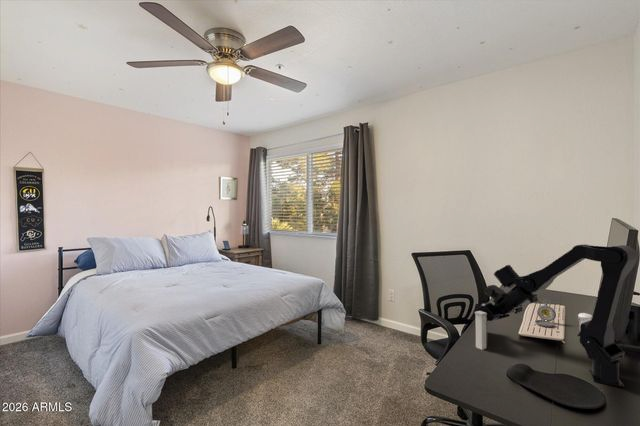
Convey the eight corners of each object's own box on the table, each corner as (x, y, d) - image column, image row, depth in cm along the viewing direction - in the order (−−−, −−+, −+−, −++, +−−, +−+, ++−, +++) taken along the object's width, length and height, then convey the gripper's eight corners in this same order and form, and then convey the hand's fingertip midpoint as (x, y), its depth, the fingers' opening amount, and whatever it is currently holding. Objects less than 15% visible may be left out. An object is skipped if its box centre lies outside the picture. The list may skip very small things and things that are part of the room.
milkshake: (599, 340, 116) (599, 313, 116) (582, 339, 118) (582, 312, 117) (591, 335, 121) (591, 309, 121) (575, 334, 122) (575, 309, 122)
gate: (487, 345, 111) (487, 319, 111) (482, 345, 112) (482, 319, 112) (485, 330, 125) (485, 307, 125) (481, 330, 126) (481, 307, 126)
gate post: (482, 350, 109) (481, 314, 109) (474, 347, 112) (474, 311, 112) (487, 348, 110) (486, 312, 110) (479, 345, 113) (479, 310, 113)
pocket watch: (539, 327, 130) (539, 303, 130) (530, 320, 138) (530, 298, 138) (561, 328, 128) (561, 304, 128) (551, 321, 136) (551, 299, 136)
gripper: (513, 277, 122) (488, 298, 131) (483, 282, 113) (458, 305, 123) (535, 301, 115) (506, 322, 124) (505, 309, 106) (476, 331, 116)
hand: (486, 319), depth 122 cm, fingers closed
